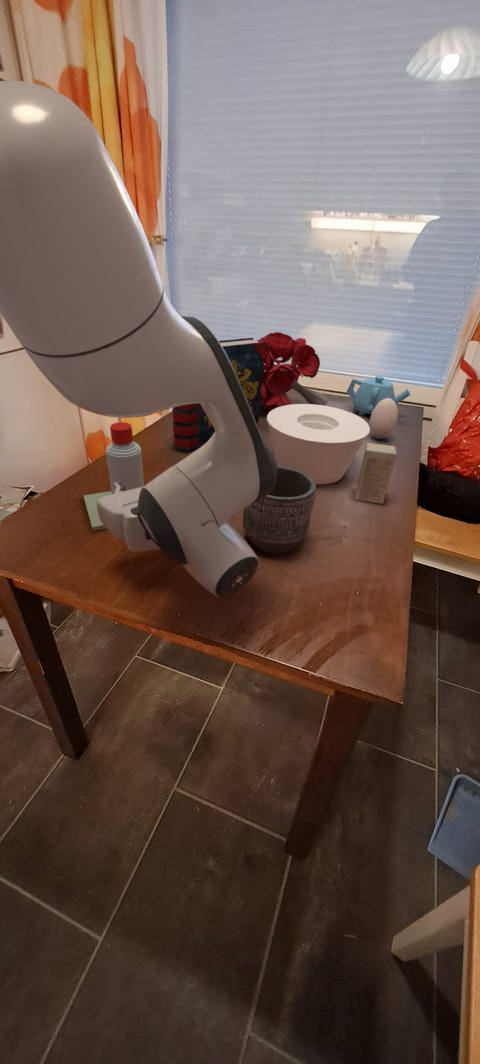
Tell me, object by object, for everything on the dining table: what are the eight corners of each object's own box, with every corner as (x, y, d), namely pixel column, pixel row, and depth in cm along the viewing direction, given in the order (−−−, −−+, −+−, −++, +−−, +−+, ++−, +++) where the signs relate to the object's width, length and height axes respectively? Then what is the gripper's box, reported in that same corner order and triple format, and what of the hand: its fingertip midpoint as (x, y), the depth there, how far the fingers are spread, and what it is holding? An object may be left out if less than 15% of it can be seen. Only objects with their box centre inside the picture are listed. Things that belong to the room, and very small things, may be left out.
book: (181, 454, 107) (179, 351, 92) (168, 444, 111) (164, 344, 97) (259, 435, 120) (267, 342, 105) (244, 427, 124) (250, 336, 109)
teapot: (339, 415, 137) (346, 378, 130) (347, 400, 150) (354, 366, 143) (402, 427, 132) (413, 389, 125) (404, 410, 145) (415, 375, 138)
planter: (266, 515, 86) (273, 458, 79) (317, 539, 81) (329, 481, 73) (228, 540, 79) (231, 480, 71) (281, 570, 73) (290, 508, 65)
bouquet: (297, 416, 153) (228, 371, 142) (341, 361, 140) (269, 306, 130) (305, 445, 136) (227, 396, 126) (355, 385, 124) (273, 324, 113)
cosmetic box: (382, 495, 96) (397, 445, 89) (383, 505, 93) (398, 454, 85) (354, 490, 97) (366, 441, 90) (353, 499, 94) (366, 449, 86)
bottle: (116, 514, 82) (106, 437, 72) (110, 498, 86) (100, 424, 77) (149, 509, 84) (143, 433, 75) (141, 493, 89) (134, 420, 79)
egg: (382, 445, 119) (394, 404, 112) (360, 436, 123) (370, 397, 117) (396, 439, 123) (408, 400, 117) (374, 431, 128) (384, 392, 121)
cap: (114, 445, 75) (112, 431, 73) (110, 437, 78) (108, 423, 76) (134, 443, 76) (133, 428, 75) (130, 435, 79) (129, 421, 77)
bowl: (378, 475, 104) (391, 429, 97) (309, 502, 92) (319, 451, 85) (309, 440, 119) (316, 398, 112) (243, 459, 107) (246, 413, 100)
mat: (92, 531, 79) (92, 527, 78) (84, 499, 87) (83, 495, 87) (175, 515, 84) (175, 511, 84) (159, 487, 93) (159, 483, 92)
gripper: (238, 484, 67) (196, 451, 76) (115, 519, 57) (83, 476, 66) (236, 517, 71) (196, 481, 80) (120, 555, 61) (89, 510, 70)
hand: (144, 479), depth 73 cm, fingers open, 8 cm apart
